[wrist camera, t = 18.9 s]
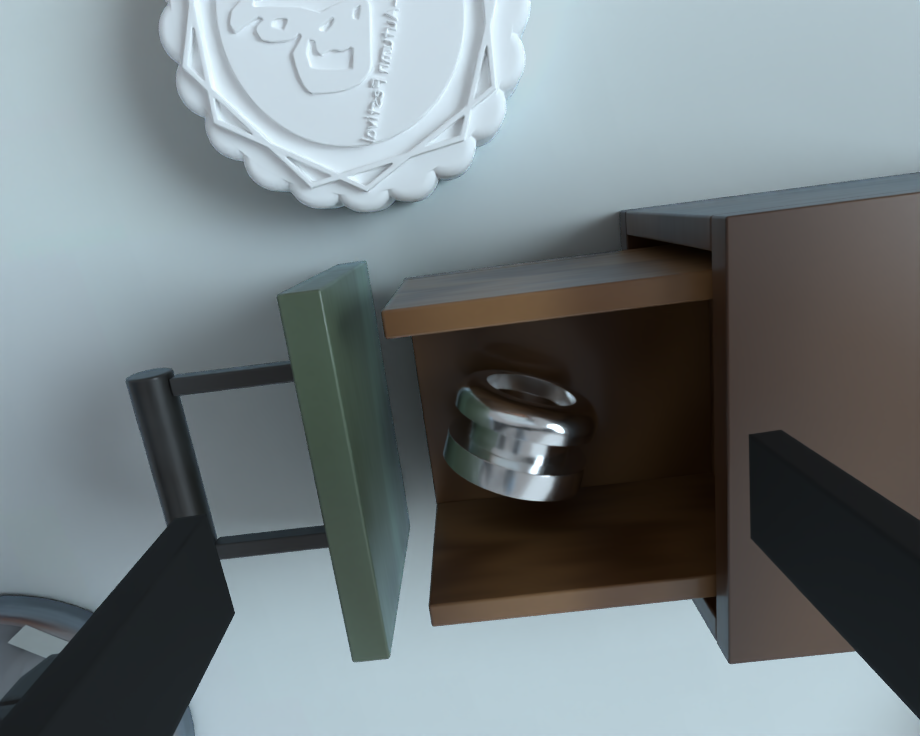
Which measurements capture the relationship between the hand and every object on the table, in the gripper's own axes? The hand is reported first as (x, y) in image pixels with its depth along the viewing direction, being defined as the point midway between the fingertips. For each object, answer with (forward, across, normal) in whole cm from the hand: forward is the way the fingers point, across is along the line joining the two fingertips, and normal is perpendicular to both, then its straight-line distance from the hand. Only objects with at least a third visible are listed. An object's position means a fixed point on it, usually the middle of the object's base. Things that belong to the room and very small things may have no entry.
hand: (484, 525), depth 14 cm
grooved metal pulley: (+10, +2, 0) cm, 10 cm away
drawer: (+11, 0, 0) cm, 11 cm away
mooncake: (+12, -2, +14) cm, 18 cm away
